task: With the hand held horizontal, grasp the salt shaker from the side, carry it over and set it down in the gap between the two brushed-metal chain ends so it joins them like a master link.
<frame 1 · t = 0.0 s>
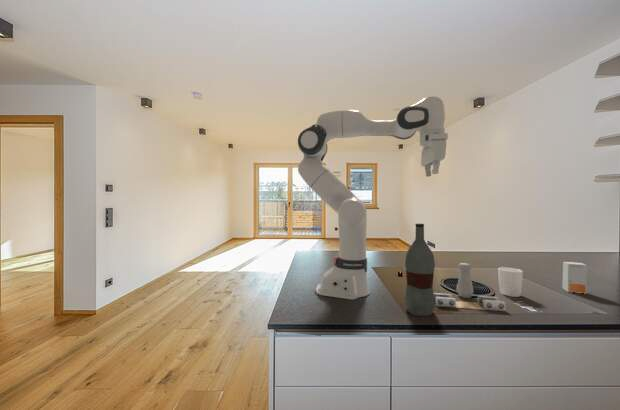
hand: (431, 175, 100), 48 cm above the counter, tool pointing down, fingers open, 8 cm apart
skincare box: (574, 292, 106), on the counter
bottle: (419, 311, 87), on the counter
white cup: (509, 294, 103), on the counter
chain end b: (490, 307, 90), on the counter
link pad: (467, 305, 92), on the counter
salt shaker: (464, 296, 101), on the counter
chain end a: (443, 304, 93), on the counter
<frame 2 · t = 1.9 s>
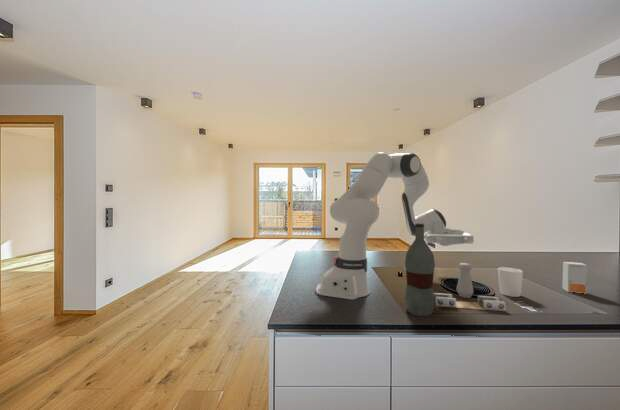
hand: (454, 241, 113), 20 cm above the counter, tool horizontal, fingers open, 8 cm apart
nothing on the counter moved.
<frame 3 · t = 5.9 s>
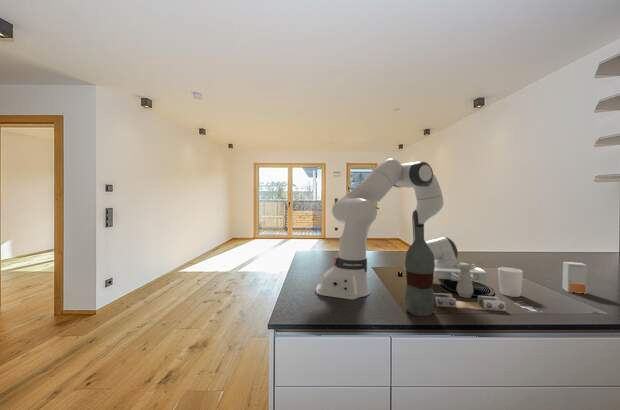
hand: (465, 279, 100), 7 cm above the counter, tool horizontal, fingers closed on salt shaker, 3 cm apart
salt shaker: (464, 296, 101), on the counter, touching gripper
everything else where it was.
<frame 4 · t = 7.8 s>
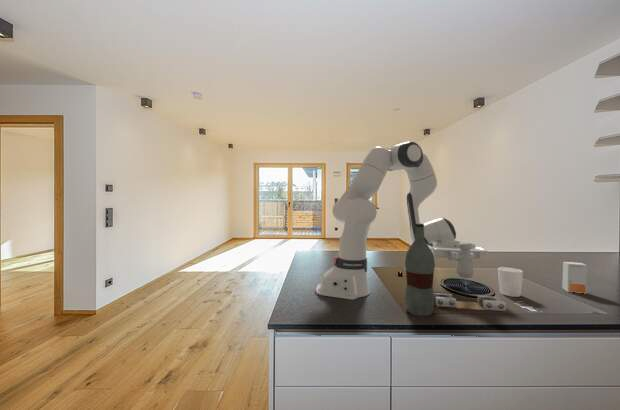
hand: (465, 257, 97), 16 cm above the counter, tool horizontal, fingers closed on salt shaker, 3 cm apart
salt shaker: (464, 277, 98), point 8 cm above the counter, touching gripper
everything else where it was.
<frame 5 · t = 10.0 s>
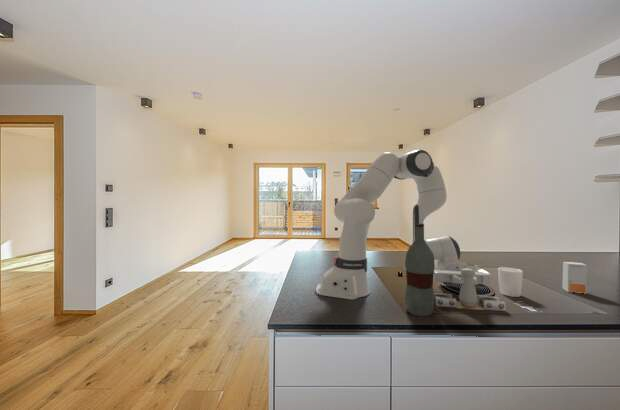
hand: (468, 282, 91), 9 cm above the counter, tool horizontal, fingers closed on salt shaker, 3 cm apart
salt shaker: (468, 305, 91), resting on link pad, touching gripper
everything else where it was.
when the fingers open (9 cm above the counter, at t = 10.1 s): salt shaker stays where it is, resting on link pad.
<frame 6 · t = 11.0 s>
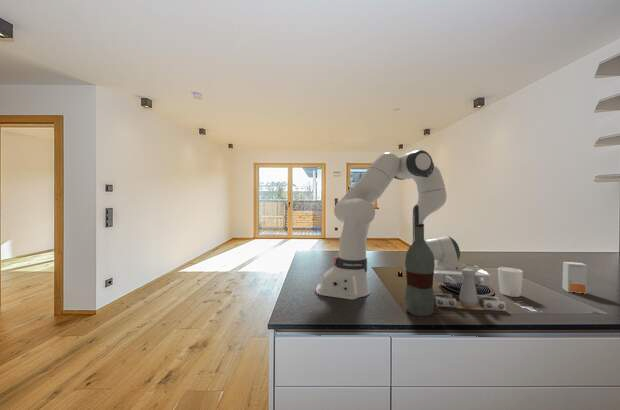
hand: (468, 282, 91), 9 cm above the counter, tool horizontal, fingers open, 8 cm apart
salt shaker: (468, 305, 91), resting on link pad
everything else where it was.
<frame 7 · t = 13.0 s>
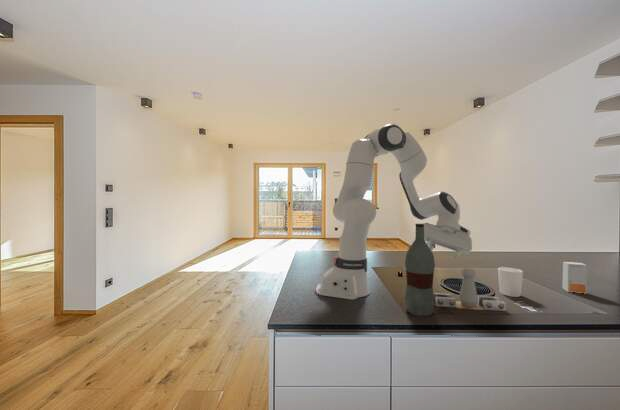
hand: (442, 253, 106), 16 cm above the counter, tool tilted 50°, fingers open, 8 cm apart
nothing on the counter moved.
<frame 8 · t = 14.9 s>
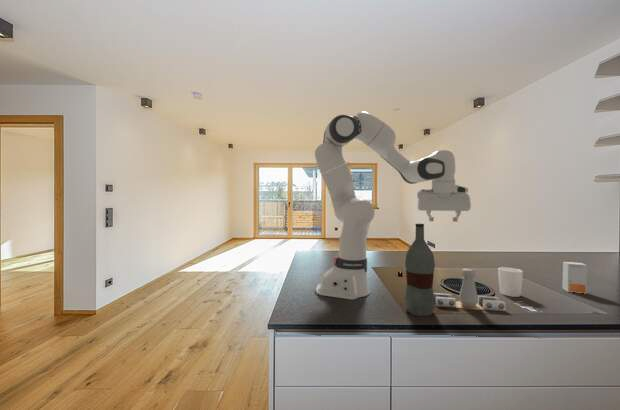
hand: (443, 221, 109), 29 cm above the counter, tool pointing down, fingers open, 8 cm apart
nothing on the counter moved.
at the end: salt shaker inside the target area (0.5 cm from its centre), resting on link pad; salt shaker tilted 0°; the gripper is holding nothing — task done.
